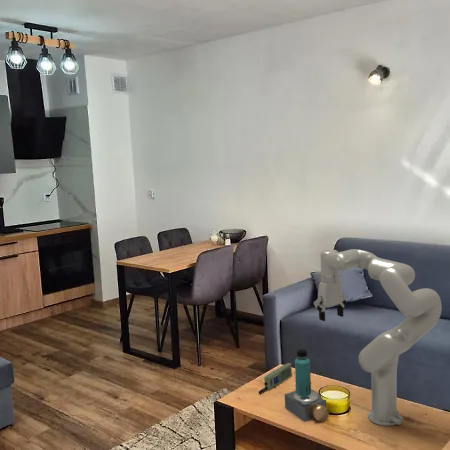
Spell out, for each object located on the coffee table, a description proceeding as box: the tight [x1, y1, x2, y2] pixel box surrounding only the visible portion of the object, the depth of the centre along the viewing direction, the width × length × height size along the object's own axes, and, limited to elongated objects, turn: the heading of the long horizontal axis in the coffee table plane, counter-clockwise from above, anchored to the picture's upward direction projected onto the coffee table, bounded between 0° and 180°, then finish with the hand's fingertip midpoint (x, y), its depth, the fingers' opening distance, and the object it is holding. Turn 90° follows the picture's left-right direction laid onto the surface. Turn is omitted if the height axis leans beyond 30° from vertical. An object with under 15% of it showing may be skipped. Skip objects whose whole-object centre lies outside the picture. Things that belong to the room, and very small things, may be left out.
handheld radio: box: [258, 362, 293, 395], centre depth 239 cm, size 7×3×25 cm
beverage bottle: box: [294, 348, 312, 397], centre depth 210 cm, size 6×7×20 cm
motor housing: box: [284, 389, 330, 423], centre depth 211 cm, size 18×12×6 cm, turn 27°
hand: (331, 318), depth 217 cm, fingers open, 9 cm apart
